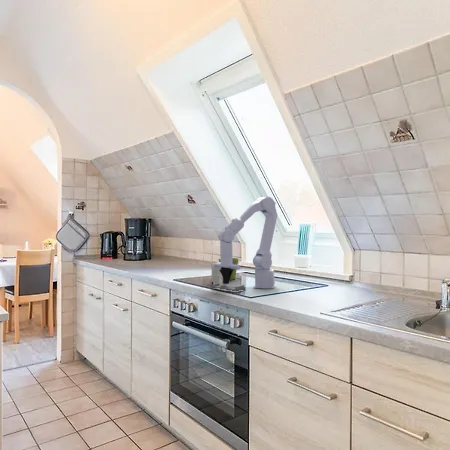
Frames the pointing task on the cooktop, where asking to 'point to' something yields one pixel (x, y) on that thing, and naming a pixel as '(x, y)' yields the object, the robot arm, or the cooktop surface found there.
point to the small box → (216, 274)
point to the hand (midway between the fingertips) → (226, 283)
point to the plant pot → (233, 276)
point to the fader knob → (221, 282)
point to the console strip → (229, 287)
